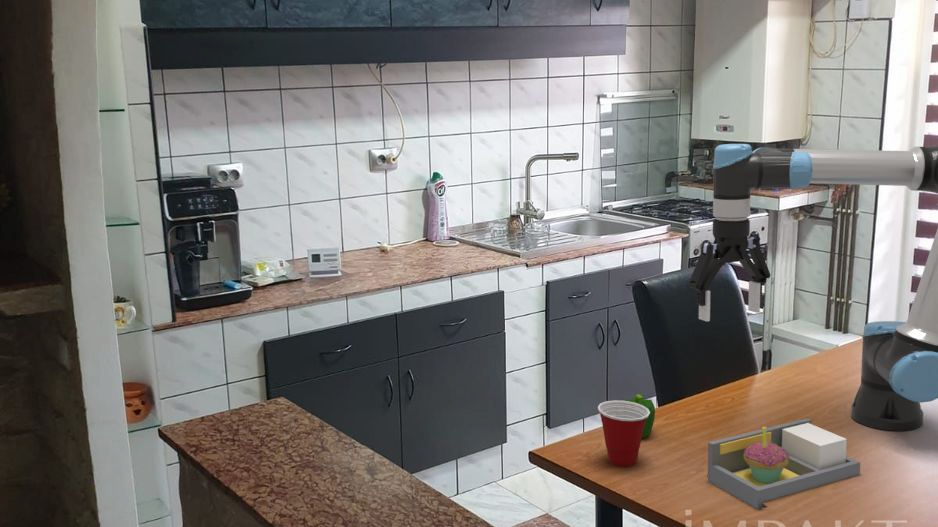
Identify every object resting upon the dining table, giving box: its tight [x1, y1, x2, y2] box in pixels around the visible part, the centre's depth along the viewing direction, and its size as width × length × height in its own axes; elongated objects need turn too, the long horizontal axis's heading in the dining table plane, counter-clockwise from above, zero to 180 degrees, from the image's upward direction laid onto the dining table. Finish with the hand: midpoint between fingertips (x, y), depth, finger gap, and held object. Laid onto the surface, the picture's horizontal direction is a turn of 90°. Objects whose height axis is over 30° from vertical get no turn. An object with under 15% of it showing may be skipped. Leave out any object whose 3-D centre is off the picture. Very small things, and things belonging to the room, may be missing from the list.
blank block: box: [782, 423, 848, 470], centre depth 178 cm, size 7×10×7 cm
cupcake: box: [743, 423, 789, 484], centre depth 173 cm, size 9×8×12 cm
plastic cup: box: [597, 400, 650, 468], centre depth 187 cm, size 11×11×12 cm
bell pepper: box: [620, 394, 656, 439], centre depth 201 cm, size 8×8×10 cm
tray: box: [707, 417, 861, 510], centre depth 175 cm, size 26×14×8 cm, turn 115°
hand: (729, 315), depth 191 cm, fingers open, 13 cm apart
